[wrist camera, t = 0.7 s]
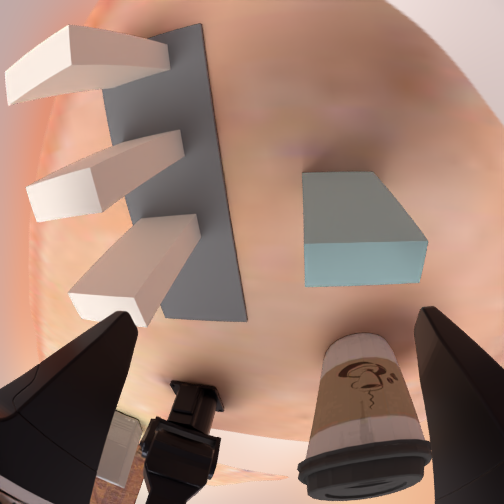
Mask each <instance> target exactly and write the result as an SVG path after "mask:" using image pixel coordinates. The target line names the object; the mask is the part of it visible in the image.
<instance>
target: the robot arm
mask: <svg viewBox="0 0 504 504" xmlns="http://www.w3.org/2000/svg"><path fill="white" fill-rule="evenodd" d="M137 336H138V330H137V327H136V325H135V323H134V321H133V319H132V317H131V315H130V314H129V313H128V312H127V311H116V312H114V313H112V314H111V315H109V316H108V317H106V318H105V319H103V320H102V321H100V322H99V323H98V324H96V325H95V326H93V327H92V328H90V329H89V330H87V331H86V332H84V333H83V334H81V335H80V336H78V337H77V338H75V339H74V340H72V341H71V342H70V343H68V344H67V345H65V346H64V347H62V348H61V349H59V350H58V351H56V352H55V353H54V354H52V355H51V356H49V357H48V358H46V359H45V360H44V361H42V362H41V363H40V364H38V365H37V366H35V367H34V368H32V369H31V370H29V371H28V372H26V373H25V374H23V375H22V376H20V377H19V378H17V379H15V380H14V381H12V382H11V383H9V384H7V385H6V386H4V387H2V388H1V389H0V504H90V500H91V496H92V491H93V487H94V483H95V479H96V475H97V471H98V467H99V463H100V460H101V456H102V453H103V449H104V446H105V442H106V439H107V435H108V432H109V429H110V426H111V422H112V419H113V416H114V413H115V410H116V407H117V404H118V401H119V398H120V395H121V392H122V389H123V386H124V383H125V380H126V377H127V374H128V371H129V367H130V363H131V359H132V355H133V351H134V348H135V344H136V340H137ZM414 337H415V344H416V351H417V359H418V368H419V377H420V383H421V389H422V394H423V399H424V404H425V410H426V416H427V422H428V428H429V435H430V443H431V452H432V462H433V473H434V489H435V504H504V369H503V368H502V367H501V366H500V365H499V364H498V363H497V362H496V361H495V360H494V359H493V358H492V357H491V356H490V355H489V354H488V353H487V352H485V351H484V350H483V349H482V348H481V347H480V346H479V345H478V344H477V343H476V342H475V341H474V340H473V339H471V338H470V337H469V336H468V335H467V334H466V333H465V332H464V331H463V330H461V329H460V328H459V327H458V326H457V325H456V324H455V323H453V322H452V321H451V320H450V319H449V318H448V317H447V316H445V315H444V314H443V313H442V312H441V311H440V310H438V309H437V308H436V307H434V306H427V307H422V308H421V309H420V311H419V314H418V318H417V321H416V324H415V328H414ZM170 386H171V388H172V389H173V391H174V393H175V394H176V398H175V400H174V403H173V406H172V409H171V412H170V414H169V417H168V420H167V421H166V420H164V419H161V418H160V417H158V416H157V417H156V419H151V421H150V423H149V426H148V428H147V430H146V432H145V434H144V436H143V438H142V440H141V441H140V447H141V448H142V451H141V452H142V455H141V457H143V458H145V462H144V469H143V477H144V479H145V483H146V486H147V489H148V492H149V495H148V498H147V501H146V504H186V502H187V501H188V500H190V499H191V498H192V497H193V496H195V495H196V494H197V493H198V492H199V491H200V490H201V489H202V488H203V487H204V486H205V485H206V483H207V479H209V480H210V479H211V478H212V476H213V474H214V471H215V468H216V465H217V460H218V454H219V447H220V441H221V438H219V437H214V436H210V435H209V433H210V429H211V426H212V422H213V418H214V415H215V411H217V412H223V411H224V407H223V404H222V402H221V400H220V397H219V395H218V392H217V390H216V388H215V387H212V386H203V385H195V384H188V383H181V382H174V381H171V383H170Z"/></svg>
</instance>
